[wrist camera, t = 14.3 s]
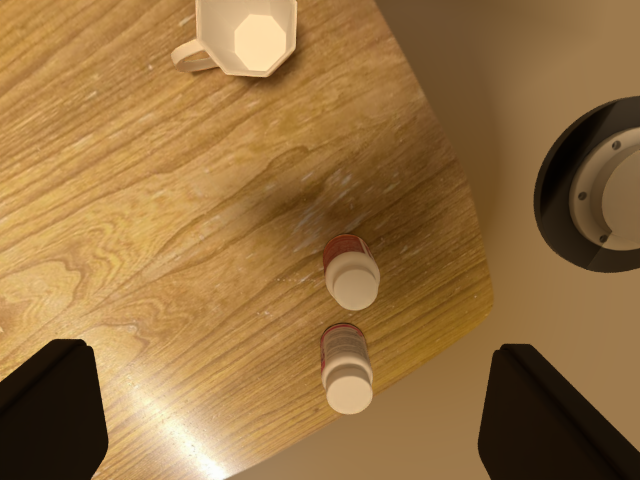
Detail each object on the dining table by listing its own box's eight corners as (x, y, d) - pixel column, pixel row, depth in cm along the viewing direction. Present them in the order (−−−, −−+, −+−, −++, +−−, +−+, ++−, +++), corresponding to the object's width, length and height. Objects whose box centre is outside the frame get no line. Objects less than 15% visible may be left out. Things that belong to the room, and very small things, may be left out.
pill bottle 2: (312, 333, 40) (312, 384, 32) (353, 315, 40) (364, 363, 32) (331, 367, 42) (336, 426, 33) (371, 351, 41) (386, 406, 33)
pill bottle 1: (313, 263, 38) (314, 300, 30) (338, 224, 37) (345, 251, 29) (353, 285, 39) (364, 327, 31) (378, 247, 38) (396, 280, 30)
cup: (314, 74, 33) (315, 58, 25) (208, 113, 34) (177, 109, 26) (286, -14, 31) (277, -60, 23) (174, 30, 32) (130, -1, 24)
